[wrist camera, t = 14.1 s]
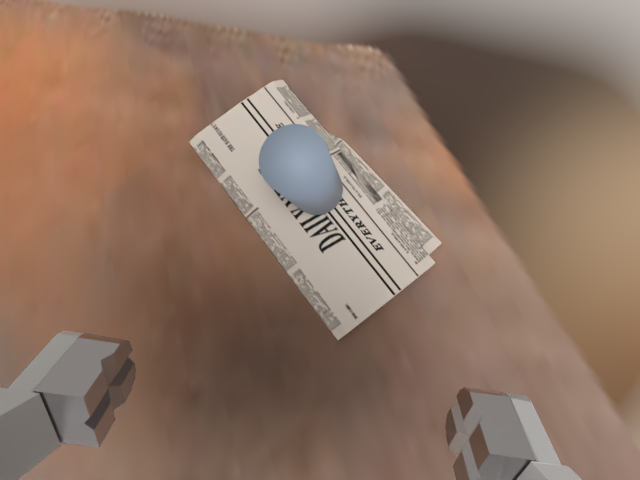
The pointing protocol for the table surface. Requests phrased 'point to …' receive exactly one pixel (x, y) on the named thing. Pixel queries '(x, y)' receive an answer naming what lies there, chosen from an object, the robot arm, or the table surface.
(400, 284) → the newspaper
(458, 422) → the robot arm
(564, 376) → the table surface
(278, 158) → the blue peg
